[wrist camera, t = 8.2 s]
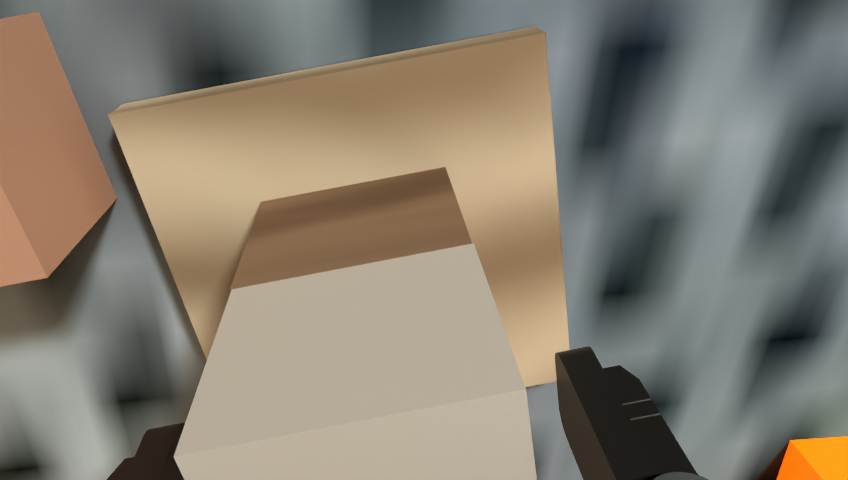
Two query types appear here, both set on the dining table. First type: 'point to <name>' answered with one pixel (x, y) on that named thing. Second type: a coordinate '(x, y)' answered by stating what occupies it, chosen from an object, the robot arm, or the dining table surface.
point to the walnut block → (351, 227)
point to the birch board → (366, 167)
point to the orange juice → (816, 459)
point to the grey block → (362, 379)
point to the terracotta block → (42, 157)
